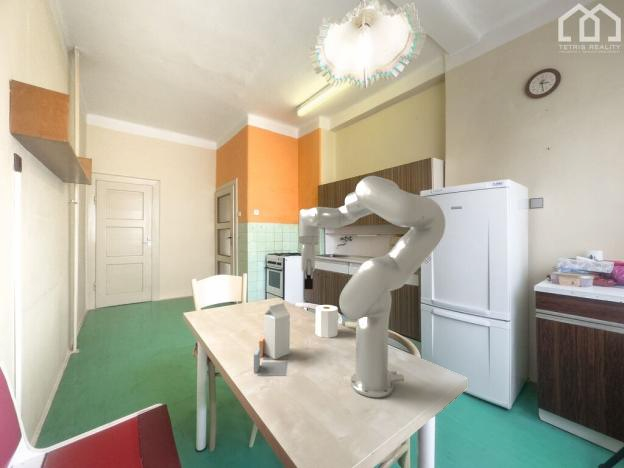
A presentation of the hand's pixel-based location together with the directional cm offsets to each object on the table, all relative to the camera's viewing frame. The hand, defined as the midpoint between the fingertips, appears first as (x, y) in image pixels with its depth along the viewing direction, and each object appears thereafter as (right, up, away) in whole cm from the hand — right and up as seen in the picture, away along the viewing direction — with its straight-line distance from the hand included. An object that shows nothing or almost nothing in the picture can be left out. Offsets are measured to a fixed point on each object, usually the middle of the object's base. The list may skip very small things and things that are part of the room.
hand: (308, 288), depth 101 cm
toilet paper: (+8, -25, +21) cm, 34 cm away
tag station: (-12, -25, -6) cm, 28 cm away
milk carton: (-12, -25, 0) cm, 28 cm away
